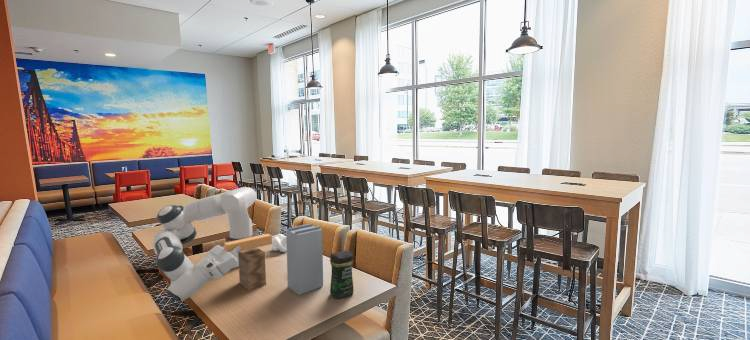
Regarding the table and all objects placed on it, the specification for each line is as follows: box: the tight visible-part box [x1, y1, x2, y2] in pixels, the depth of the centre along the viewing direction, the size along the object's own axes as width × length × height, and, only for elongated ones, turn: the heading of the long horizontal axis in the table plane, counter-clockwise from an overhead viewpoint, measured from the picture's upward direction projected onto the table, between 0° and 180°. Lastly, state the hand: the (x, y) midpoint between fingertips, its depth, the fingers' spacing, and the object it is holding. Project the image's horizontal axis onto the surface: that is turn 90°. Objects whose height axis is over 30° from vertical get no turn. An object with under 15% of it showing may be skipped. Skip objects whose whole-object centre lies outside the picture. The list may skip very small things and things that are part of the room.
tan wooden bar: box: [223, 233, 273, 252], centre depth 154 cm, size 20×4×4 cm, turn 133°
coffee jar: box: [329, 249, 355, 299], centre depth 146 cm, size 10×8×19 cm
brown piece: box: [238, 247, 267, 291], centre depth 156 cm, size 8×10×15 cm
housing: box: [285, 222, 324, 295], centre depth 153 cm, size 12×10×27 cm
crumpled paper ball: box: [270, 233, 287, 253], centre depth 200 cm, size 11×12×9 cm
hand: (237, 245), depth 151 cm, fingers closed on tan wooden bar, 4 cm apart
